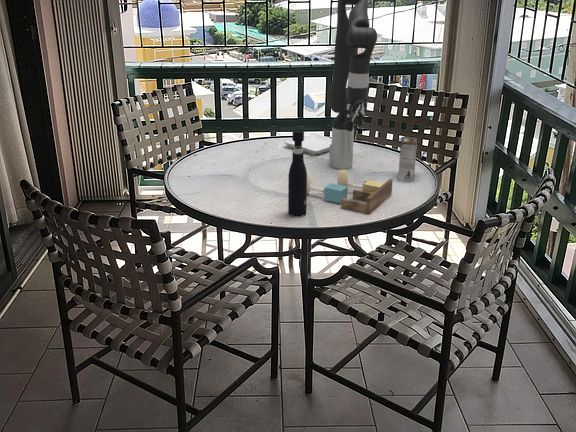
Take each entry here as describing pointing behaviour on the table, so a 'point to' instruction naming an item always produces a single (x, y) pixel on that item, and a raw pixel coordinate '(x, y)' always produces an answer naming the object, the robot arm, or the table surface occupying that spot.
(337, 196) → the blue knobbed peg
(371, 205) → the lane rack
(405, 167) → the coffee box
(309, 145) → the salad plate
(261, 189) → the table surface
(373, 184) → the yellow peg toy
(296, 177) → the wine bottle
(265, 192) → the table surface
